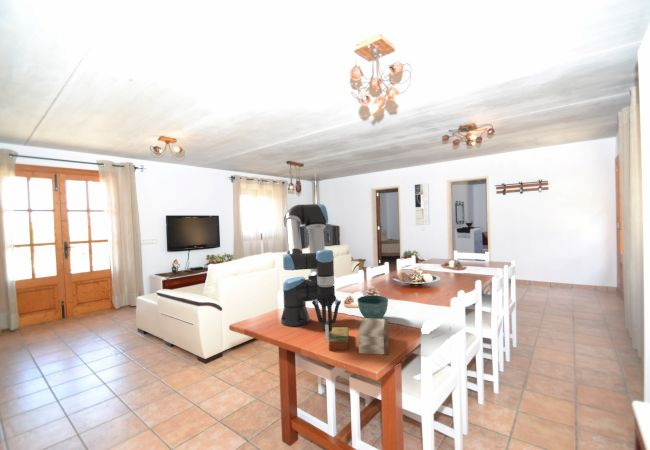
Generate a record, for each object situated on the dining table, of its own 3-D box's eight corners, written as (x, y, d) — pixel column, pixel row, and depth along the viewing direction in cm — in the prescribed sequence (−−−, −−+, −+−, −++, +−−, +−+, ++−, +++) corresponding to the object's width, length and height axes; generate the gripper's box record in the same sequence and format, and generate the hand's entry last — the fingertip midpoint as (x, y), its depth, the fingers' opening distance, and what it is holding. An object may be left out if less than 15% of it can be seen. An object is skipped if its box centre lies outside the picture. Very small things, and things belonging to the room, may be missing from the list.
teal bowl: (380, 326, 149) (379, 305, 149) (352, 321, 159) (351, 300, 159) (393, 317, 162) (393, 297, 162) (367, 312, 172) (366, 294, 172)
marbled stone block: (359, 352, 121) (358, 332, 121) (363, 336, 138) (362, 318, 138) (388, 354, 119) (387, 333, 119) (388, 337, 135) (388, 319, 135)
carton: (348, 336, 140) (348, 326, 140) (348, 351, 124) (348, 341, 124) (331, 335, 141) (330, 326, 141) (328, 351, 125) (328, 340, 125)
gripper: (309, 286, 130) (311, 341, 131) (338, 287, 127) (340, 342, 128) (314, 283, 138) (315, 334, 138) (342, 283, 134) (343, 336, 135)
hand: (327, 338), depth 133 cm, fingers closed
